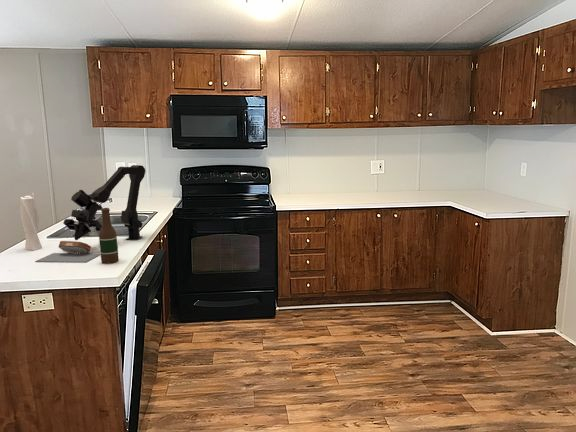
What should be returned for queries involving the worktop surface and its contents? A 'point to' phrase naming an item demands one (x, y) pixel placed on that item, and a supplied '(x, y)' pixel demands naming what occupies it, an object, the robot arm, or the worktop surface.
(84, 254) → the slate mat
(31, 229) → the skyscraper
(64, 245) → the tin
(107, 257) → the beer bottle
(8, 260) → the worktop surface
